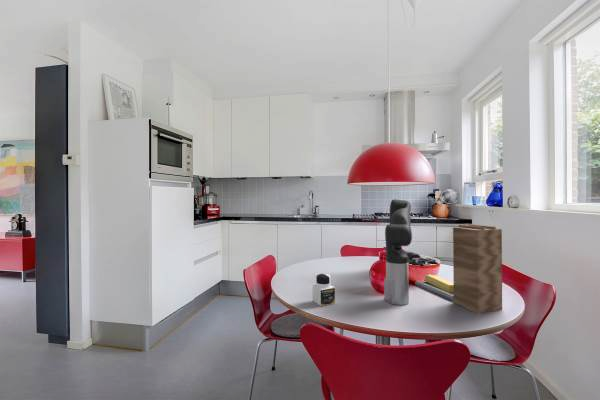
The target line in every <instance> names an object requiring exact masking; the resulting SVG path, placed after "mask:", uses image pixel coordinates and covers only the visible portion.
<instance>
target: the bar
mask: <svg viewBox="0 0 600 400" xmlns="http://www.w3.org/2000/svg"><path fill="white" fill-rule="evenodd" d="M424 281H426V282H428V283H430V284H432V285H434V286H436V287H438V288H440V289H442V290H444V291H446V292H448V293H454V282H451V281H449V280H447V279H445V278H442V277H440V276H438V275H435V274H433V273H431V274H429V275H426V276H425V280H424Z"/></svg>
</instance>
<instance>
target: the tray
mask: <svg viewBox="0 0 600 400" xmlns="http://www.w3.org/2000/svg"><path fill="white" fill-rule="evenodd" d="M414 284H415V285H414V286H417V287H419V288H422V289H424V290H425V291H429V292H430V293H433V294H434V295H438V296H440V297H442V298H444V299H446V300H449V301H451V302H454V293H448V292H446V291H444V290H442V289H440V288H438V287H436V286H434V285H432V284H430V283H428V282H421V281H416V282H415V281H414Z"/></svg>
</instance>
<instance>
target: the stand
mask: <svg viewBox="0 0 600 400" xmlns="http://www.w3.org/2000/svg"><path fill="white" fill-rule="evenodd" d="M502 232H503V231H502V228H497V227H496V226H492V225H491V226H489V225H480V224H471V223H470V224H468V225H467V224H458V226H454V227H452V235H453V236H452V243H453V245H452V248H453V249H452V250H453V252H452V254H453V255H452V256H453V259H452V260H453V261H452V262H453V263H452V264H453V265H452V266H453V271H452V272H453V284H454V301H453V304H457V305H459V306H461V307H463V308H466V309H468V310H470V311H472V312H474V313H476V314H482V313H489V312H494V311H502V310H503V234H502Z"/></svg>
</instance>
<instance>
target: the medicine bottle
mask: <svg viewBox="0 0 600 400" xmlns="http://www.w3.org/2000/svg"><path fill="white" fill-rule="evenodd" d="M315 278H316V284H313V285H312V302H313V301H314V303H315V304H316V303H317V305H318V306H320V307H325V305H326V306H329V305H334V303H336V291H335V289H336V287H335V286H334V285H331V276H330V274H327V273H319V274H317V275H316V277H315Z"/></svg>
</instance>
